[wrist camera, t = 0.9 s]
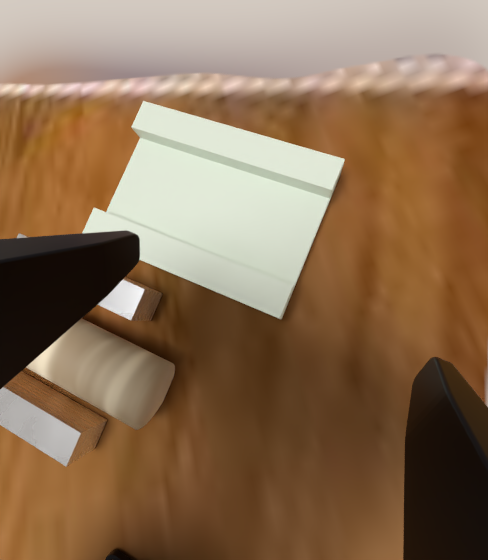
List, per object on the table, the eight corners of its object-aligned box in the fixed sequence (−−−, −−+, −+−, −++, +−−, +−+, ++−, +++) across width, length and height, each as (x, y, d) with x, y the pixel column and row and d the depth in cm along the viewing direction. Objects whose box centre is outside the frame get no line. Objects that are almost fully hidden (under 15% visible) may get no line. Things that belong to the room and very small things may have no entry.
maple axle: (181, 360, 20) (155, 366, 16) (156, 418, 20) (122, 439, 16) (41, 291, 22) (-11, 283, 19) (16, 342, 22) (-43, 344, 18)
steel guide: (94, 448, 20) (66, 466, 17) (-17, 381, 22) (-56, 389, 19) (162, 293, 21) (144, 289, 18) (48, 243, 23) (18, 233, 20)
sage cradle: (281, 319, 19) (279, 318, 17) (100, 242, 22) (81, 234, 20) (340, 175, 20) (344, 159, 18) (156, 120, 23) (143, 101, 21)
